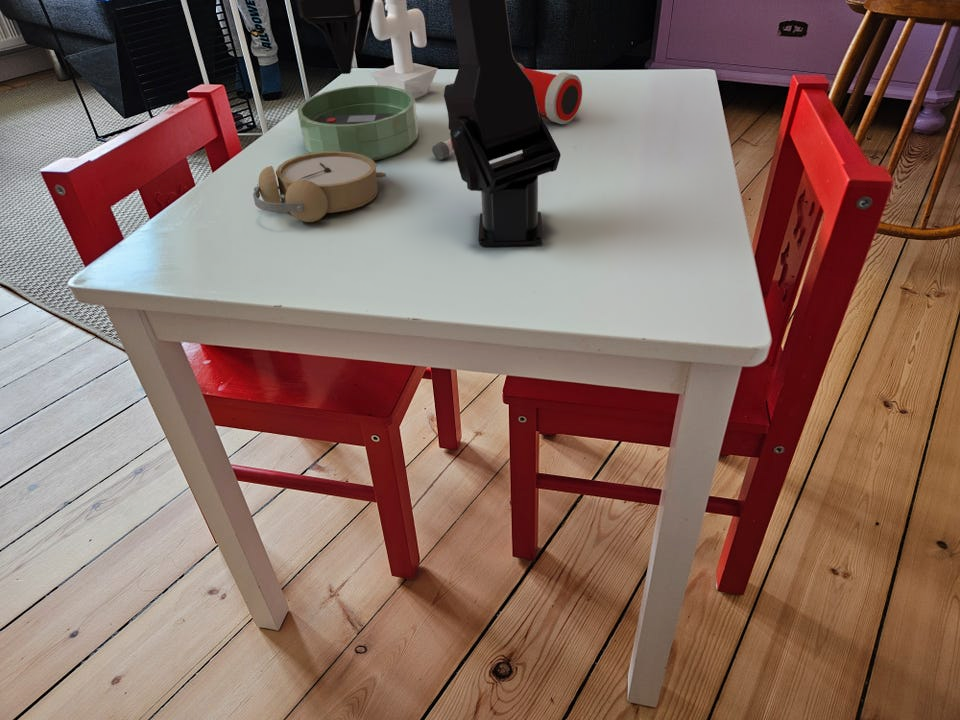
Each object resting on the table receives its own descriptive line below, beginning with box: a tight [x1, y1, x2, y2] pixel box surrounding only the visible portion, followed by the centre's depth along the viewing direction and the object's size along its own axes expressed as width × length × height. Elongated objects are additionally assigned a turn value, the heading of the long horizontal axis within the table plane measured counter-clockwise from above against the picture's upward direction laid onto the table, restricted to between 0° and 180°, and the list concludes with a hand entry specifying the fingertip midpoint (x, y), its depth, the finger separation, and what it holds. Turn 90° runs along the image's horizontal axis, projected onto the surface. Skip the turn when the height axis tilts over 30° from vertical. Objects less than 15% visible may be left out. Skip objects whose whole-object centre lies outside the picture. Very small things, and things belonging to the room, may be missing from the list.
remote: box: [317, 113, 397, 125], centre depth 93 cm, size 11×4×3 cm, turn 88°
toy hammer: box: [431, 62, 583, 161], centre depth 93 cm, size 23×12×6 cm, turn 137°
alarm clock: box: [252, 151, 387, 223], centre depth 80 cm, size 11×5×15 cm
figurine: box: [370, 0, 439, 100], centre depth 104 cm, size 7×9×15 cm
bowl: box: [296, 84, 420, 162], centre depth 93 cm, size 15×15×5 cm
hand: (352, 62), depth 88 cm, fingers open, 9 cm apart
